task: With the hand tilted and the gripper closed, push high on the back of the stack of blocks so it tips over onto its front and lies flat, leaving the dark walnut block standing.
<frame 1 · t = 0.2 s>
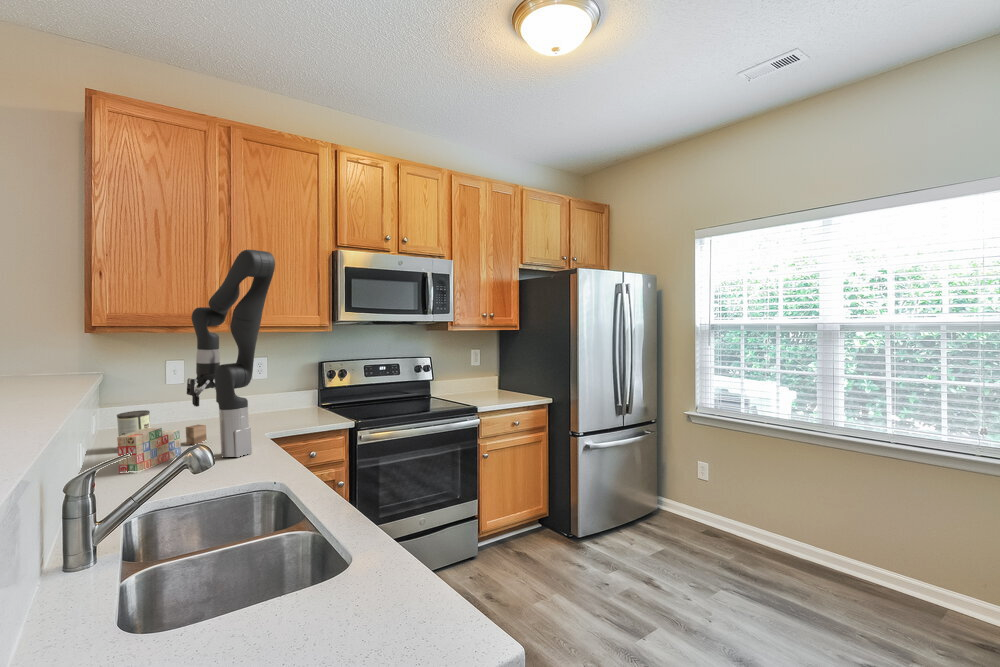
hand: (207, 404, 183), 18 cm above the counter, tool pointing down, fingers open, 8 cm apart
coffee can: (135, 449, 192), on the counter
stack of blocks: (152, 464, 171), on the counter
walnut block: (196, 443, 198), on the counter
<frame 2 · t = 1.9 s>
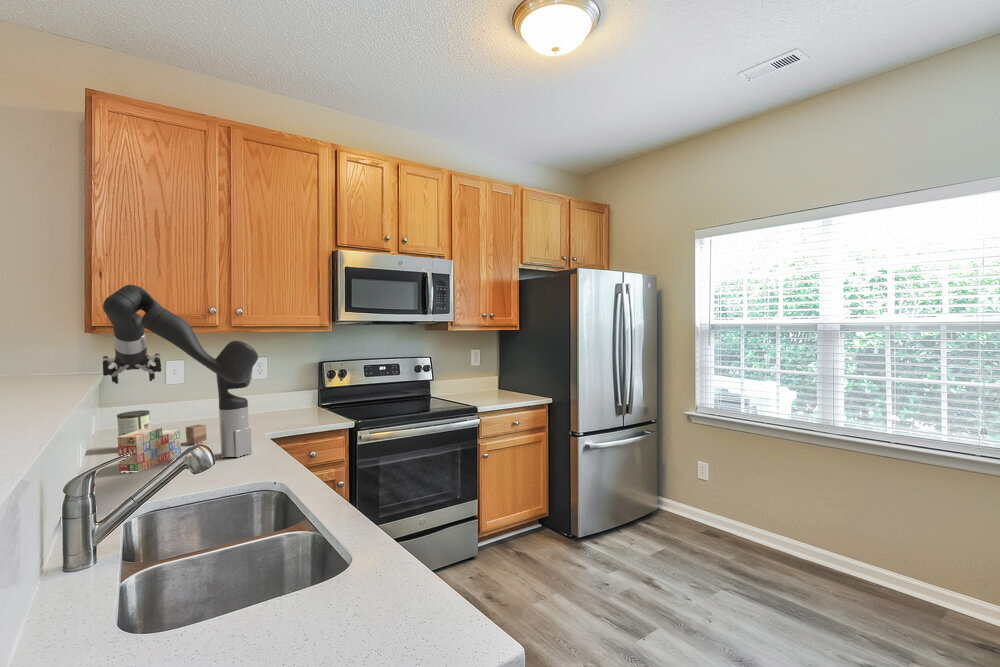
hand: (134, 380, 153), 31 cm above the counter, tool tilted 45°, fingers open, 8 cm apart
nothing on the counter moved.
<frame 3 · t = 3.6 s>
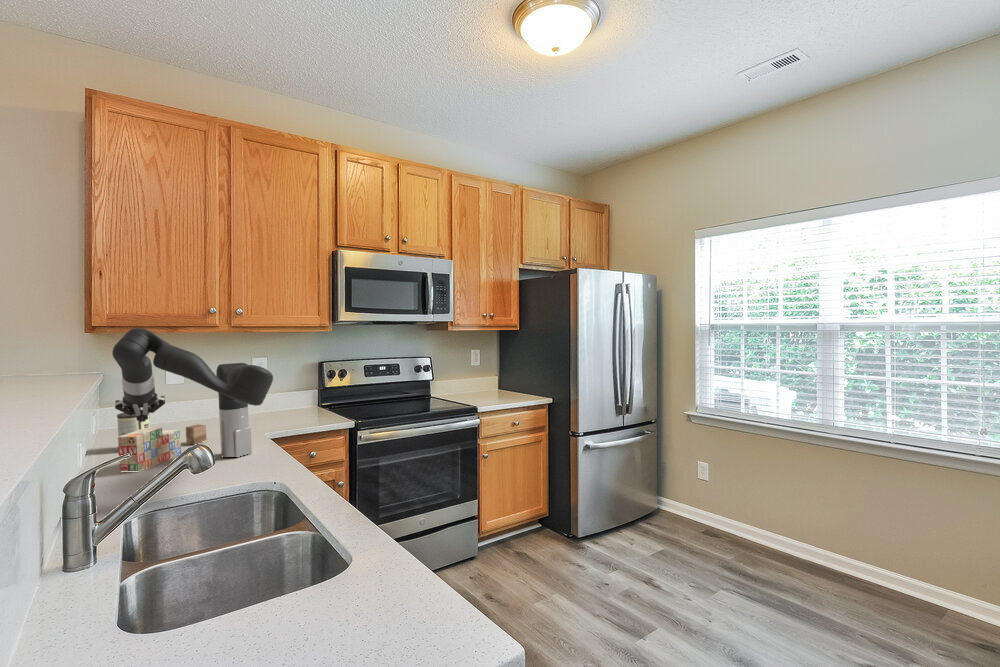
hand: (142, 419, 155), 18 cm above the counter, tool tilted 45°, fingers closed
nothing on the counter moved.
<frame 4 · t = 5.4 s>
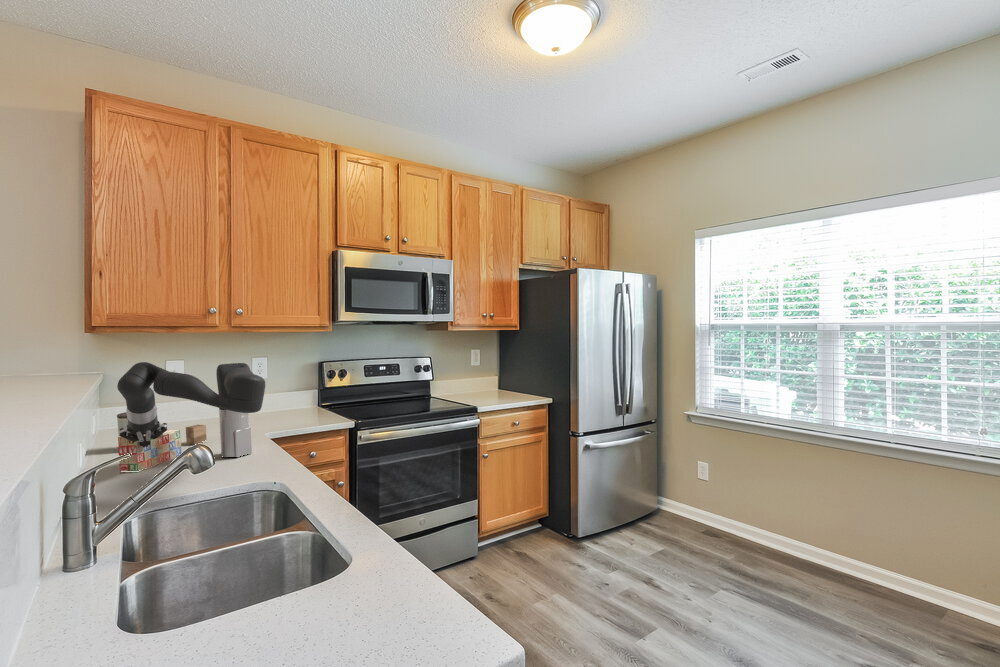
hand: (145, 444, 163), 8 cm above the counter, tool tilted 45°, fingers closed
stack of blocks: (152, 463, 171), on the counter, touching gripper
everything else where it was.
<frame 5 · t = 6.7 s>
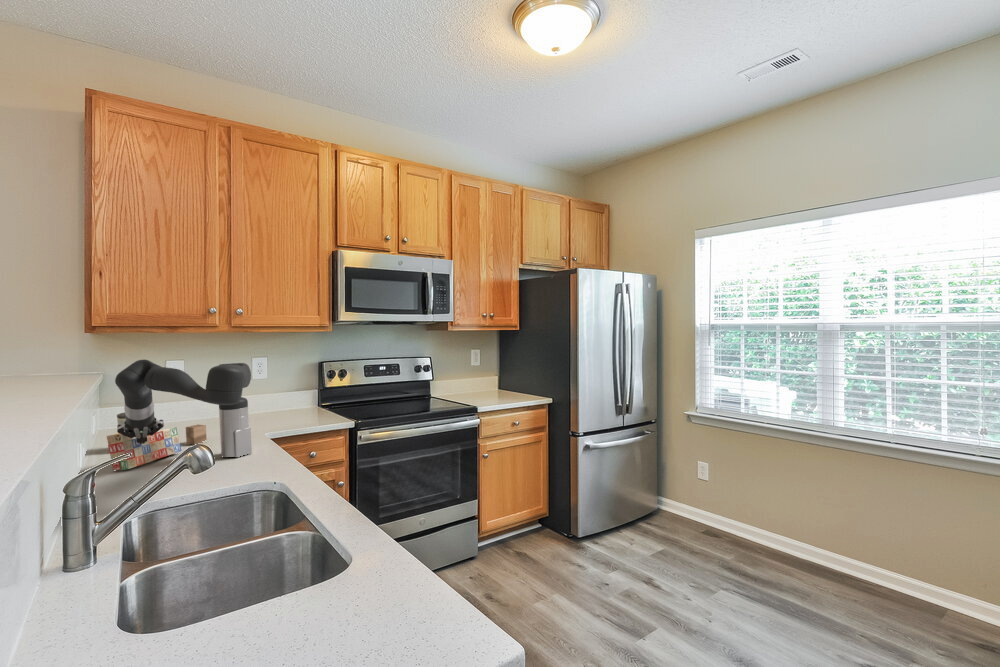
hand: (142, 441, 167), 9 cm above the counter, tool tilted 45°, fingers closed
stack of blocks: (149, 461, 172), on the counter
everything else where it was.
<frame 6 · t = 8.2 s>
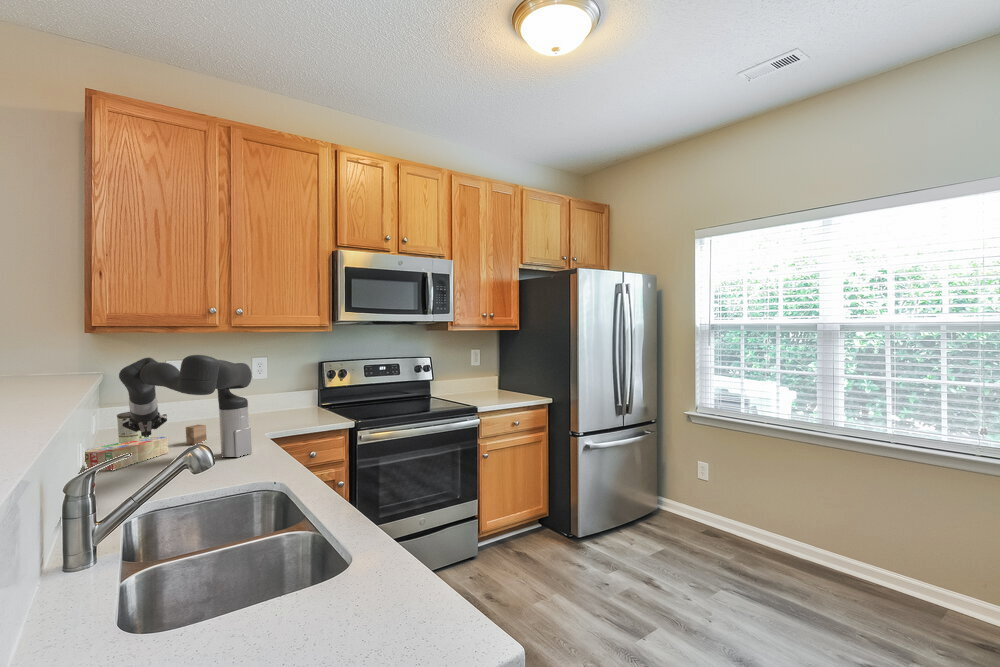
hand: (146, 434, 173), 9 cm above the counter, tool tilted 45°, fingers closed
stack of blocks: (142, 452, 173), point 3 cm above the counter
everything else where it was.
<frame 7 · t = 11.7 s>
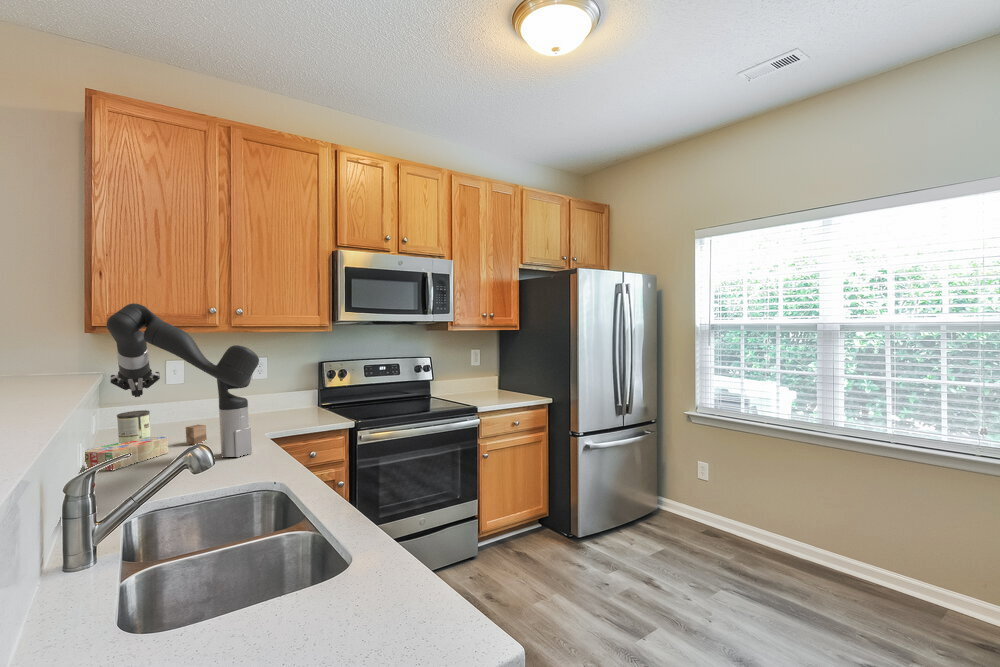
hand: (137, 394, 159), 26 cm above the counter, tool tilted 45°, fingers closed
nothing on the counter moved.
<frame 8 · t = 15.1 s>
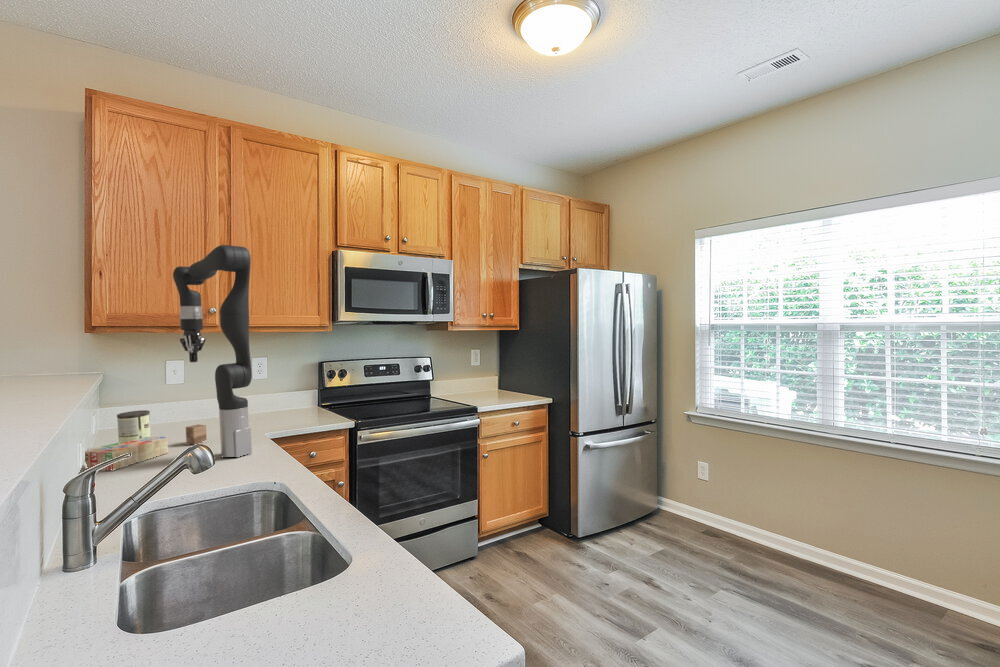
hand: (193, 362, 193), 33 cm above the counter, tool pointing down, fingers closed
nothing on the counter moved.
at the end: stack of blocks tilted 90°; stack of blocks inside the target area (0.5 cm from its centre), point 3.2 cm above the counter; walnut block tilted 0° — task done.
